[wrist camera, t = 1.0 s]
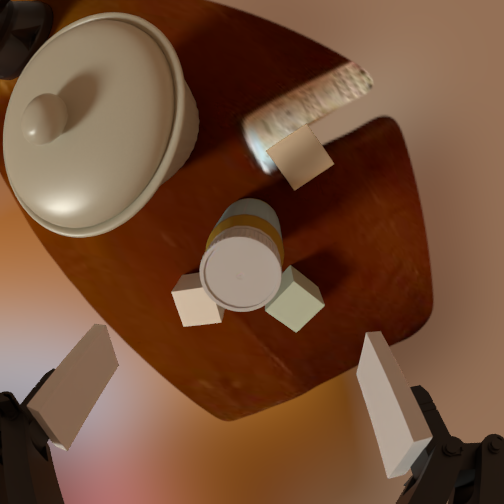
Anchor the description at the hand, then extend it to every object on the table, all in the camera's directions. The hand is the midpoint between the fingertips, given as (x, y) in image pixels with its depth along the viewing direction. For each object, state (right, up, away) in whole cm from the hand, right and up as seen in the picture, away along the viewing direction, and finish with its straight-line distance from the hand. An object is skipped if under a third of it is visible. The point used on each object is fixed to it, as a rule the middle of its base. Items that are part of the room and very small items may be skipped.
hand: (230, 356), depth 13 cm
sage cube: (+6, 0, +25) cm, 26 cm away
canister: (-11, +20, +19) cm, 30 cm away
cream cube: (-5, 0, +25) cm, 26 cm away
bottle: (+1, +8, +22) cm, 24 cm away
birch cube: (+6, +16, +19) cm, 26 cm away
